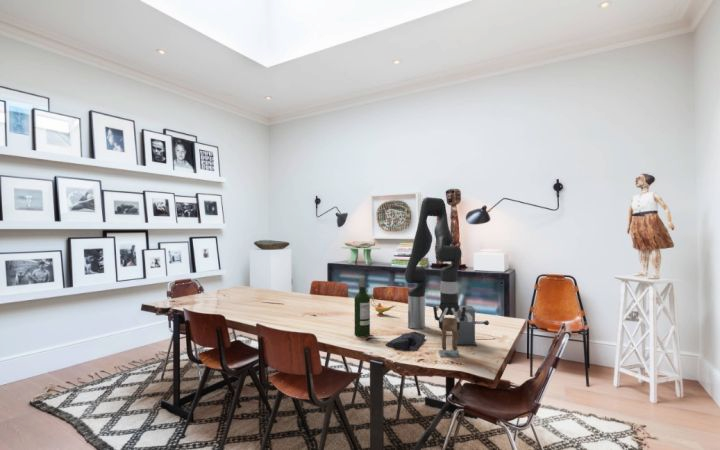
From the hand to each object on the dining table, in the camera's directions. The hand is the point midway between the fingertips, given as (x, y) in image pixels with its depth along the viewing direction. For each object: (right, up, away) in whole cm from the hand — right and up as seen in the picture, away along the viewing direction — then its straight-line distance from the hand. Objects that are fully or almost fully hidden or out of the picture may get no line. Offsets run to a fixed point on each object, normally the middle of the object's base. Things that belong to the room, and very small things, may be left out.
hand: (449, 329), depth 160 cm
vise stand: (+13, -10, +9) cm, 19 cm away
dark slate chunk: (-16, -11, +16) cm, 25 cm away
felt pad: (0, -10, 0) cm, 10 cm away
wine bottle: (-38, -11, +29) cm, 49 cm away
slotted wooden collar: (0, -8, 0) cm, 8 cm away
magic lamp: (-24, -11, +70) cm, 75 cm away
